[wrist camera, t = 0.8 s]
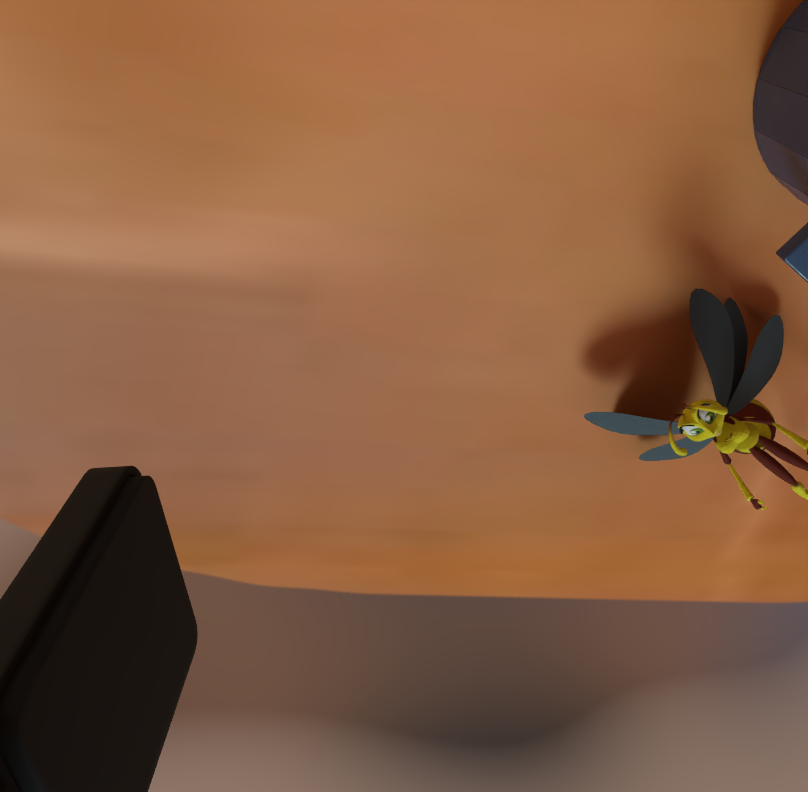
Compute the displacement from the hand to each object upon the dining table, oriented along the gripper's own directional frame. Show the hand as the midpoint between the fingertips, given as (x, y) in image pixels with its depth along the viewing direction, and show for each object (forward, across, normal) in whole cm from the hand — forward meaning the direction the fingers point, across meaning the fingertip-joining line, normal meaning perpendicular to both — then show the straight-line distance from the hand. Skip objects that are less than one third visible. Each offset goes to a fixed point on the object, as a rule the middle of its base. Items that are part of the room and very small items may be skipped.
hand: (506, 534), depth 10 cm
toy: (+33, -16, +18) cm, 41 cm away
